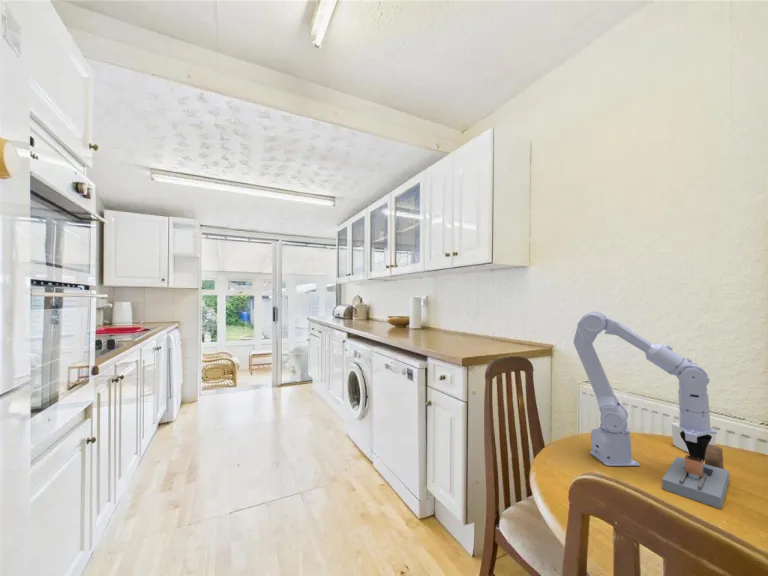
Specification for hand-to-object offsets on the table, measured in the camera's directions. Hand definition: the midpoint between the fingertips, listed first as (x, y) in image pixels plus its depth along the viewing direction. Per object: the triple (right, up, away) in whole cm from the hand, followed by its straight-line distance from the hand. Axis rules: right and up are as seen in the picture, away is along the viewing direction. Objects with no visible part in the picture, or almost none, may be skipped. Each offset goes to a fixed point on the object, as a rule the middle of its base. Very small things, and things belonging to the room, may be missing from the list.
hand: (697, 462), depth 83 cm
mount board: (-3, -4, -3) cm, 6 cm away
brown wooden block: (+8, -5, +3) cm, 10 cm away
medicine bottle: (+15, -5, +16) cm, 22 cm away
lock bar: (-3, -2, -2) cm, 4 cm away
